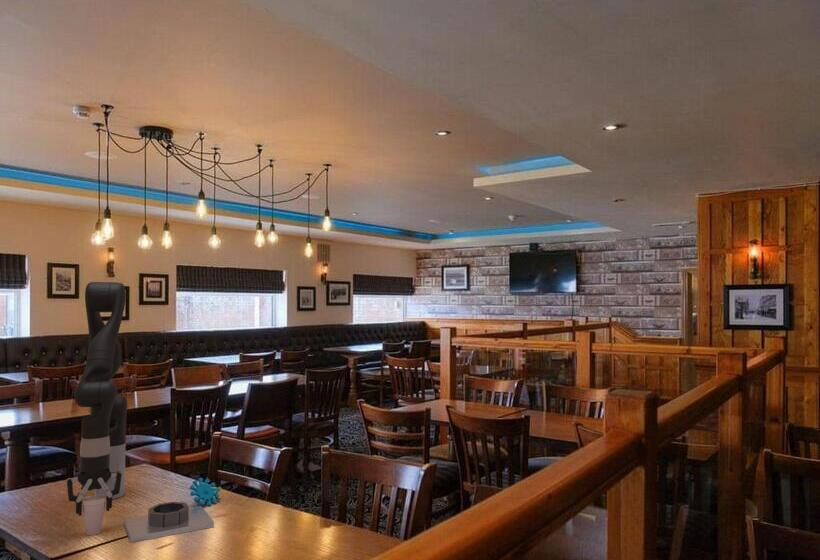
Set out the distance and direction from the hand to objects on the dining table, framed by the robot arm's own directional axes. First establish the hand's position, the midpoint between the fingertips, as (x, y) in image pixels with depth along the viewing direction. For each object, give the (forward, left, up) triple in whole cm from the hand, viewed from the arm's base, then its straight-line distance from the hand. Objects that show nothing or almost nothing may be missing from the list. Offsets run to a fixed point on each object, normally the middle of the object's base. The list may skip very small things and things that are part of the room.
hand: (93, 512), depth 170 cm
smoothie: (0, 0, -6) cm, 6 cm away
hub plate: (+5, +19, -6) cm, 20 cm away
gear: (-9, +33, -6) cm, 35 cm away
